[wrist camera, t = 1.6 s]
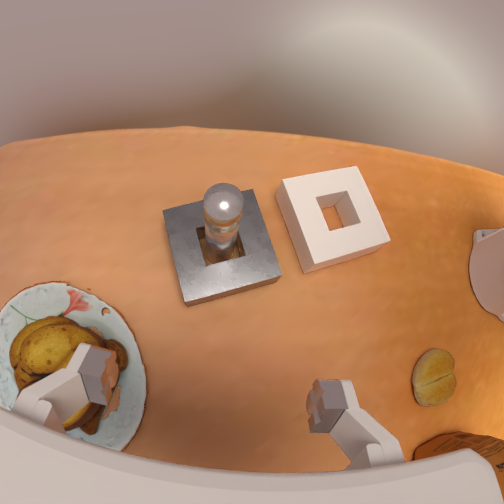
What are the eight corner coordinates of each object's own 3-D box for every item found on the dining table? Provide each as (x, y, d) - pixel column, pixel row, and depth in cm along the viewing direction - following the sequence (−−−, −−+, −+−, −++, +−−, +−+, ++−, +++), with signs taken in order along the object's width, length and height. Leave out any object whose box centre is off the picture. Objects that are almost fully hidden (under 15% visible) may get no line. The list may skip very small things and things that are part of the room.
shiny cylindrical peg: (229, 235, 43) (237, 179, 29) (236, 261, 42) (249, 213, 28) (202, 242, 42) (198, 187, 28) (210, 268, 41) (208, 223, 27)
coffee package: (459, 473, 35) (550, 497, 14) (404, 494, 34) (497, 540, 13) (466, 424, 38) (566, 433, 17) (412, 441, 37) (519, 470, 16)
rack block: (344, 182, 48) (356, 166, 44) (374, 251, 45) (390, 240, 40) (275, 196, 46) (282, 179, 41) (303, 274, 43) (314, 264, 38)
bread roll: (445, 344, 42) (461, 342, 38) (449, 396, 40) (465, 398, 36) (407, 355, 41) (422, 354, 37) (411, 411, 38) (426, 414, 35)
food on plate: (15, 268, 38) (-8, 256, 32) (163, 307, 40) (155, 298, 33) (-7, 423, 30) (-31, 428, 23) (137, 483, 31) (126, 502, 25)
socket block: (249, 202, 45) (252, 189, 41) (276, 282, 42) (282, 275, 38) (166, 222, 43) (162, 210, 39) (187, 307, 40) (184, 302, 36)
